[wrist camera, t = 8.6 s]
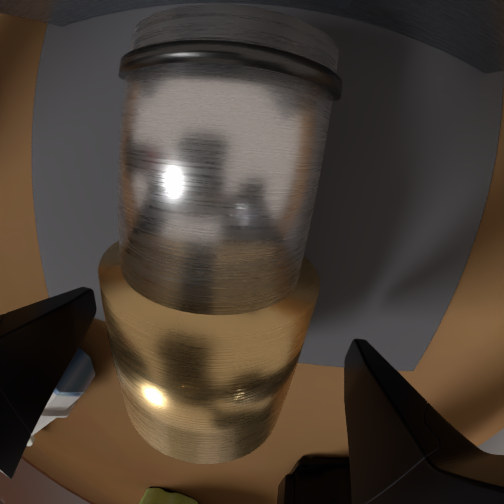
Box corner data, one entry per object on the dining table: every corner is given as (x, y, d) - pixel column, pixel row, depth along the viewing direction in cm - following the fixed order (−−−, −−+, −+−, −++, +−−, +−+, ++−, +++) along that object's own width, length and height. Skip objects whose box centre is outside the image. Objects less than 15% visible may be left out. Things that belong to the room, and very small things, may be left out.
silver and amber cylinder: (340, 79, 7) (409, 23, 2) (281, 360, 11) (273, 476, 6) (166, 62, 7) (52, 19, 3) (156, 335, 11) (102, 434, 7)
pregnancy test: (86, 420, 11) (13, 471, 16) (127, 346, 17) (34, 435, 23) (7, 346, 10) (-22, 440, 15) (69, 290, 16) (2, 406, 21)
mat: (477, -67, 3) (480, -70, 2) (411, 365, 12) (413, 370, 11) (107, -103, 4) (104, -106, 3) (55, 299, 13) (50, 303, 12)
